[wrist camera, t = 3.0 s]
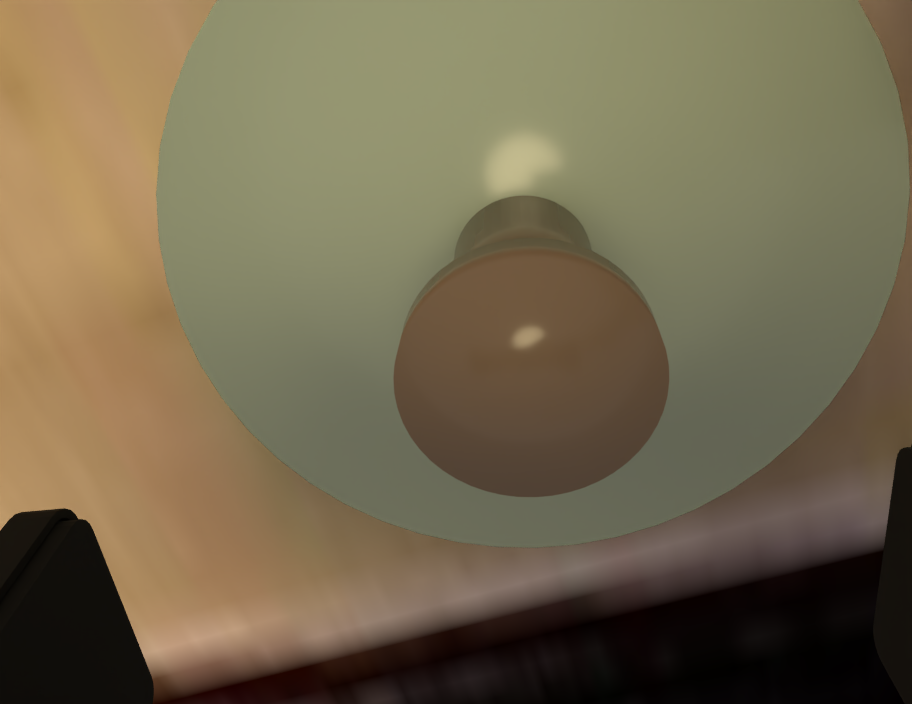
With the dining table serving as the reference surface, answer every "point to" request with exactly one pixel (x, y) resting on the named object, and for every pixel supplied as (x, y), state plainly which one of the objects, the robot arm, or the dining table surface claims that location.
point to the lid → (531, 246)
